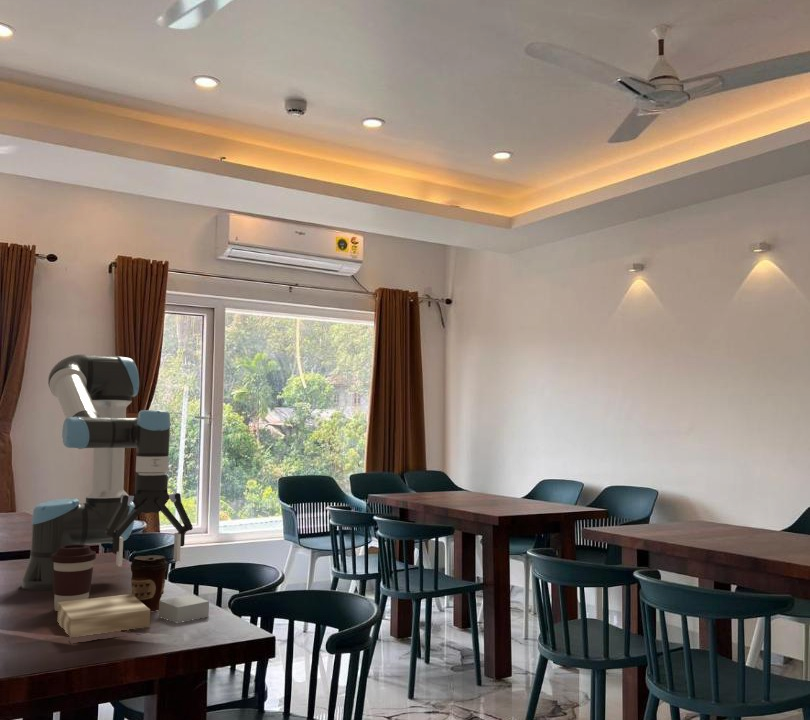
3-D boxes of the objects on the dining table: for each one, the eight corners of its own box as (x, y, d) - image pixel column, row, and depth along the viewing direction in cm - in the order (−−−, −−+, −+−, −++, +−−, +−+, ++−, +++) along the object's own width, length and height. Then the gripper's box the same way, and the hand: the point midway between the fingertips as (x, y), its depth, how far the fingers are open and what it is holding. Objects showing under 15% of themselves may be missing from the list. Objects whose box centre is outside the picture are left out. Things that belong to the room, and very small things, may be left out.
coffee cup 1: (102, 607, 186) (105, 544, 187) (72, 617, 177) (75, 551, 178) (69, 602, 190) (72, 541, 191) (38, 612, 180) (42, 548, 181)
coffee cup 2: (153, 618, 178) (155, 561, 178) (120, 615, 179) (123, 559, 180) (171, 608, 186) (173, 554, 187) (140, 606, 188) (143, 552, 189)
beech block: (56, 624, 171) (58, 602, 171) (130, 615, 179) (131, 594, 180) (70, 644, 157) (71, 619, 158) (149, 633, 166) (150, 609, 166)
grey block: (158, 622, 175) (159, 600, 175) (189, 616, 181) (190, 594, 181) (176, 630, 169) (177, 607, 170) (208, 623, 175) (209, 601, 176)
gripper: (101, 476, 175) (97, 570, 174) (207, 473, 189) (204, 560, 187) (94, 474, 182) (90, 565, 180) (197, 471, 195) (194, 555, 194)
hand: (148, 563), depth 184 cm, fingers open, 13 cm apart
